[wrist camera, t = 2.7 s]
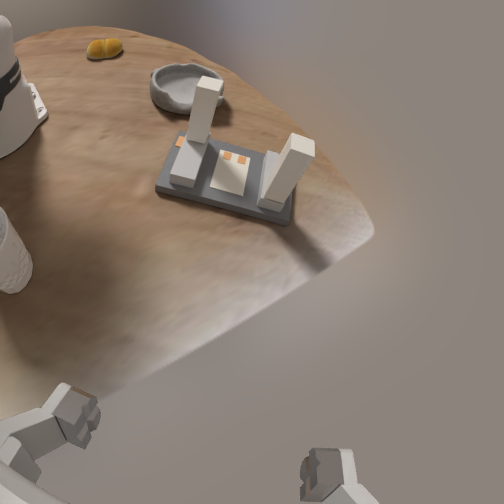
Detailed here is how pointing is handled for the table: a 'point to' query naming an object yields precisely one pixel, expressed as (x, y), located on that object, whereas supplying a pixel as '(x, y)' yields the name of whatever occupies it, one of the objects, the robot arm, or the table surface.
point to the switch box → (222, 178)
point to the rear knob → (203, 108)
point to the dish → (179, 86)
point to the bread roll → (104, 49)
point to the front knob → (289, 167)
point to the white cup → (13, 258)
